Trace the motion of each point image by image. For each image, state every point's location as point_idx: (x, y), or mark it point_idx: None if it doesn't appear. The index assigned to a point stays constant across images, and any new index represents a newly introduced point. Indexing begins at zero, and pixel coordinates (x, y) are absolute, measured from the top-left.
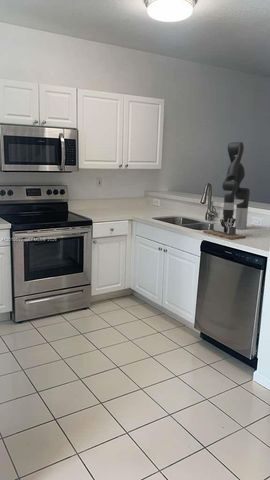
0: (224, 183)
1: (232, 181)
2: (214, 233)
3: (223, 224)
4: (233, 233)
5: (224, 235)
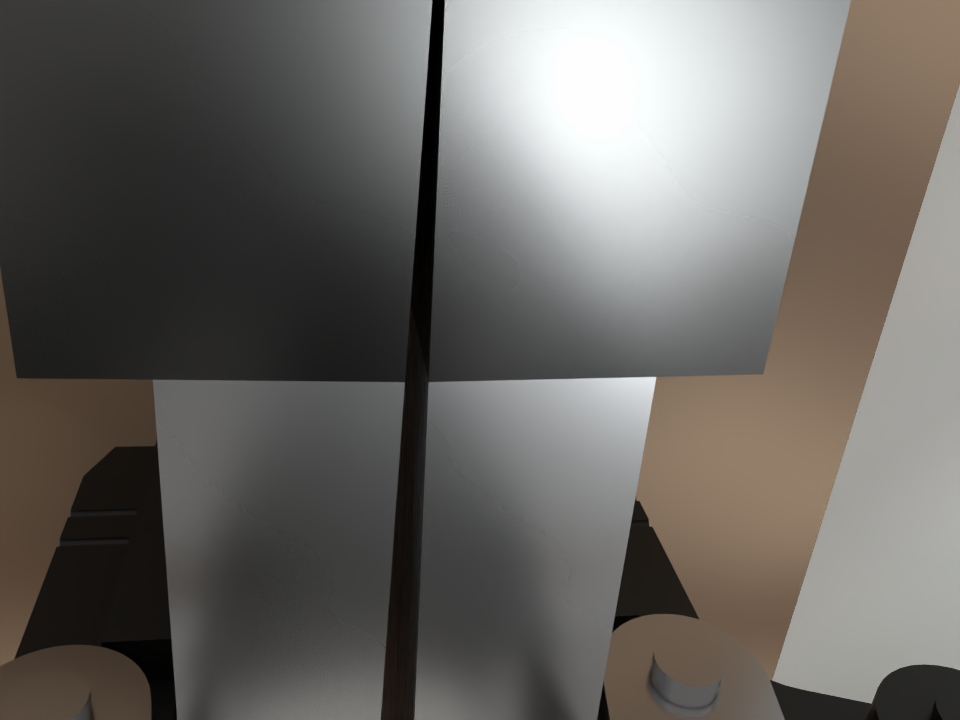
0: None
1: None
2: None
3: None
4: None
5: (835, 147)
